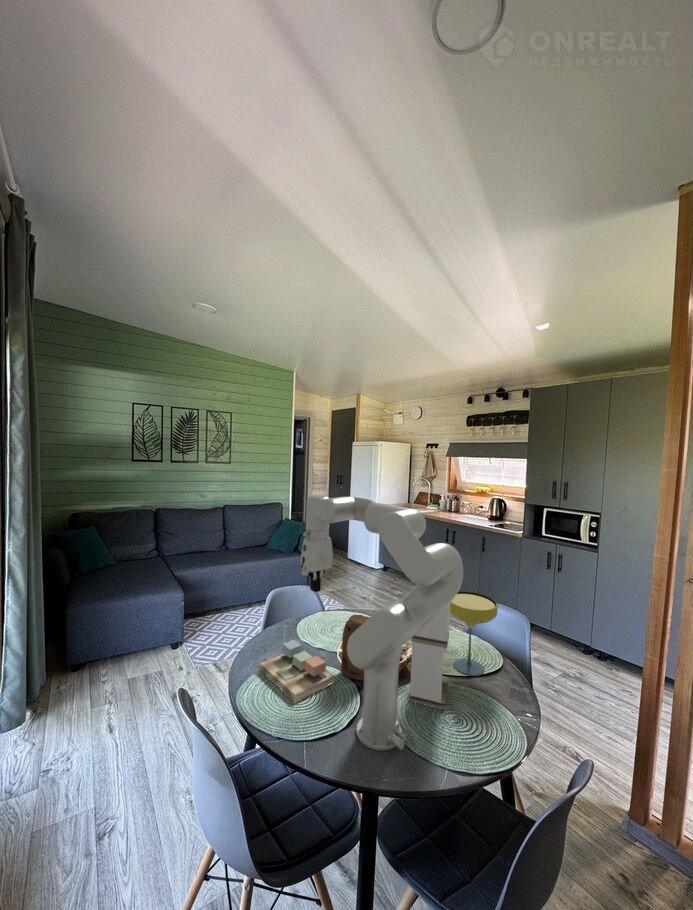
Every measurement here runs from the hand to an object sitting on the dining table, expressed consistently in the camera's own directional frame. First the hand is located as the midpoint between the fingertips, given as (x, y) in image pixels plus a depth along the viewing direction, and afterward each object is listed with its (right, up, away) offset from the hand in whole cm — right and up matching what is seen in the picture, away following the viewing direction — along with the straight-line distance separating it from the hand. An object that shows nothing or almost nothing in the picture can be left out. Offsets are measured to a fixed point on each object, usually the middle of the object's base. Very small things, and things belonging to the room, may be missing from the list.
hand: (315, 590), depth 120 cm
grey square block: (-10, -28, +15) cm, 33 cm away
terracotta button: (0, -29, +5) cm, 29 cm away
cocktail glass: (+56, -35, +18) cm, 68 cm away
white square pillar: (+37, -35, +1) cm, 51 cm away
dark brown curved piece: (+14, -34, +11) cm, 38 cm away
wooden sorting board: (-7, -33, +8) cm, 35 cm away
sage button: (-5, -30, +10) cm, 32 cm away
